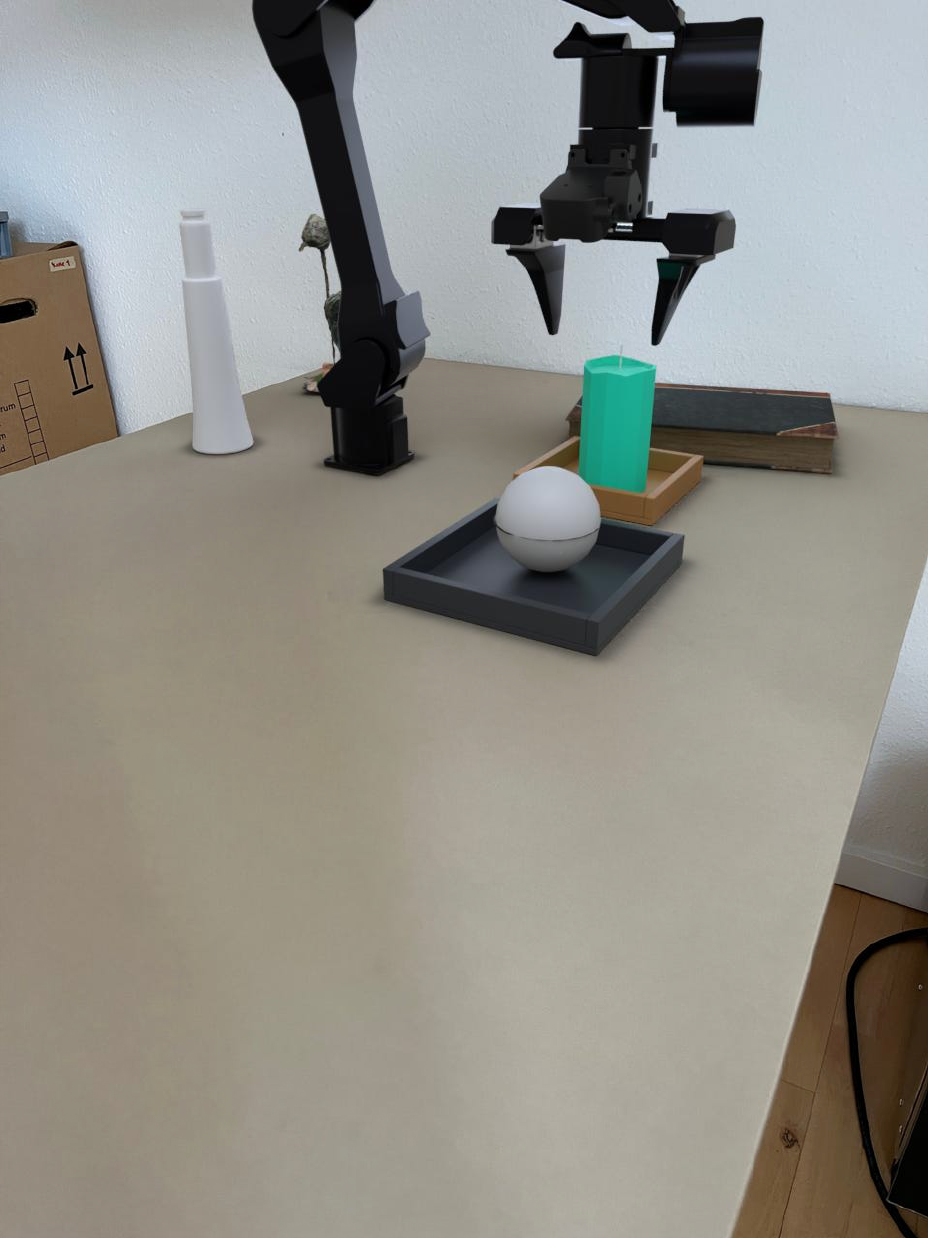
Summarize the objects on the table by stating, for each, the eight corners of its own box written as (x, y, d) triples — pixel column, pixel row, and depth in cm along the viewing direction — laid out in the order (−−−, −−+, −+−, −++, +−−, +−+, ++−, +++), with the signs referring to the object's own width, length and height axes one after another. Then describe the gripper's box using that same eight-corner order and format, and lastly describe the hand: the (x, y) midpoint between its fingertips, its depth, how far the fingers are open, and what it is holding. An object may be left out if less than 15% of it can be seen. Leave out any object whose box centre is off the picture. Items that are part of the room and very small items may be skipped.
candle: (573, 474, 85) (580, 338, 79) (639, 473, 85) (650, 337, 79) (582, 497, 79) (590, 353, 74) (653, 496, 80) (666, 352, 74)
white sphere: (498, 545, 71) (499, 450, 67) (598, 549, 70) (604, 454, 66) (483, 605, 62) (483, 499, 58) (597, 610, 61) (604, 504, 57)
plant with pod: (383, 399, 111) (375, 215, 102) (292, 395, 113) (276, 214, 104) (400, 382, 118) (394, 209, 109) (314, 379, 120) (301, 208, 111)
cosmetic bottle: (225, 458, 91) (193, 212, 81) (179, 449, 94) (143, 210, 84) (266, 442, 96) (241, 207, 86) (221, 433, 99) (192, 205, 88)
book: (562, 453, 92) (832, 474, 86) (564, 416, 90) (839, 436, 84) (592, 407, 107) (824, 423, 100) (594, 375, 105) (830, 389, 99)
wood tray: (512, 498, 81) (512, 473, 80) (573, 458, 90) (574, 435, 89) (651, 525, 75) (654, 498, 74) (701, 480, 85) (704, 455, 84)
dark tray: (384, 599, 64) (382, 568, 63) (494, 524, 76) (494, 497, 75) (596, 656, 57) (598, 622, 56) (681, 563, 69) (685, 534, 67)
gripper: (455, 130, 69) (457, 346, 77) (701, 128, 61) (678, 371, 68) (524, 129, 78) (520, 323, 85) (749, 127, 69) (724, 343, 77)
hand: (603, 339), depth 78 cm, fingers open, 9 cm apart
